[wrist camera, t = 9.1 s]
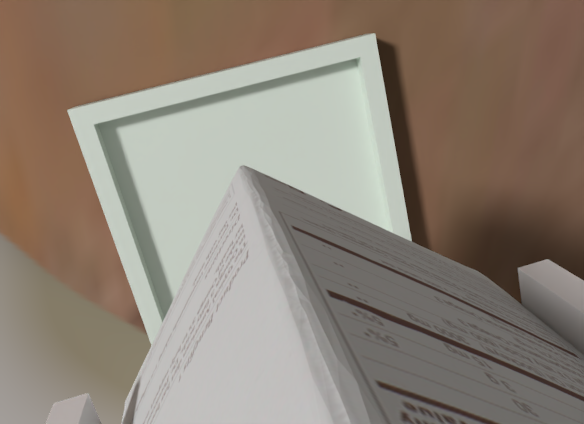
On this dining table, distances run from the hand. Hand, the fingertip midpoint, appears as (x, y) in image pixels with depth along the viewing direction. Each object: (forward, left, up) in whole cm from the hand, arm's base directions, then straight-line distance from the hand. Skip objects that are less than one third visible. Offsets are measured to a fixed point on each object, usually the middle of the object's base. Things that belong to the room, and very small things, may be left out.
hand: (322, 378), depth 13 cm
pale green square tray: (0, 0, -14) cm, 14 cm away
